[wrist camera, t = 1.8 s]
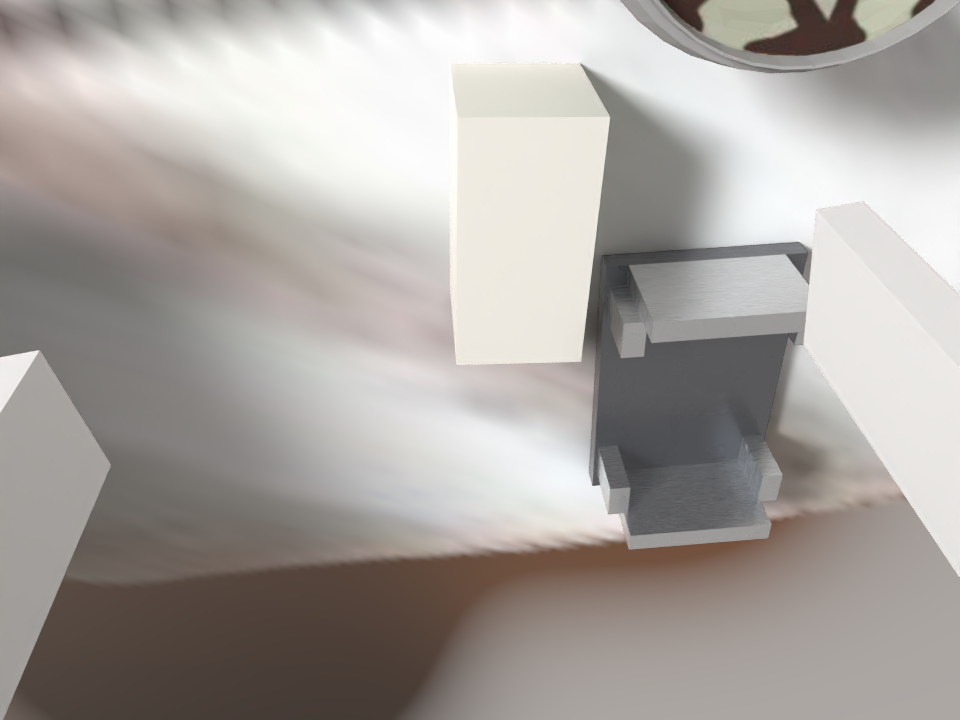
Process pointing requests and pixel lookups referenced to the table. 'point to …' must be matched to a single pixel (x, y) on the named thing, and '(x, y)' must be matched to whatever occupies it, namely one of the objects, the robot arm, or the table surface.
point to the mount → (692, 388)
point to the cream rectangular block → (523, 209)
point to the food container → (785, 29)
